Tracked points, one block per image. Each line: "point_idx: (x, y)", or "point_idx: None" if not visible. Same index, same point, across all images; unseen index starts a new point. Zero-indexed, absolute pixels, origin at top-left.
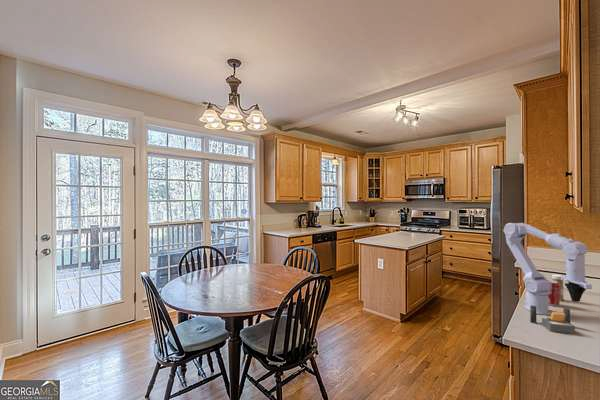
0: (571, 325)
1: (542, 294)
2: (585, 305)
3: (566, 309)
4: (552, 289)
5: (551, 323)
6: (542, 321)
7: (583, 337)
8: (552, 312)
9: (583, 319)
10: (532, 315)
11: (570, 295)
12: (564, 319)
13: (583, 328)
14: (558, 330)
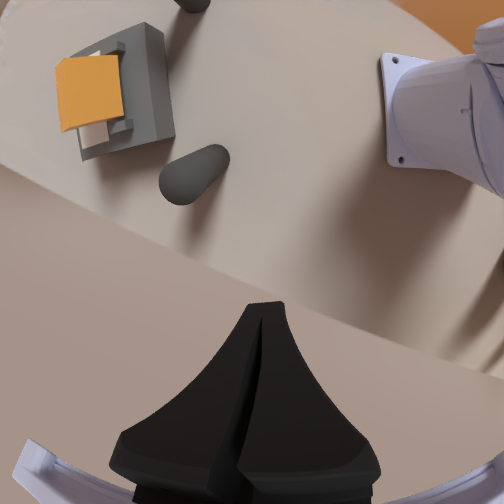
0: (88, 149)
1: (478, 113)
2: (487, 355)
3: (173, 179)
4: None
5: None
6: (150, 28)
7: (87, 176)
8: (61, 62)
9: (364, 295)
10: None
11: (282, 331)
12: (119, 130)
13: (213, 229)
14: None
